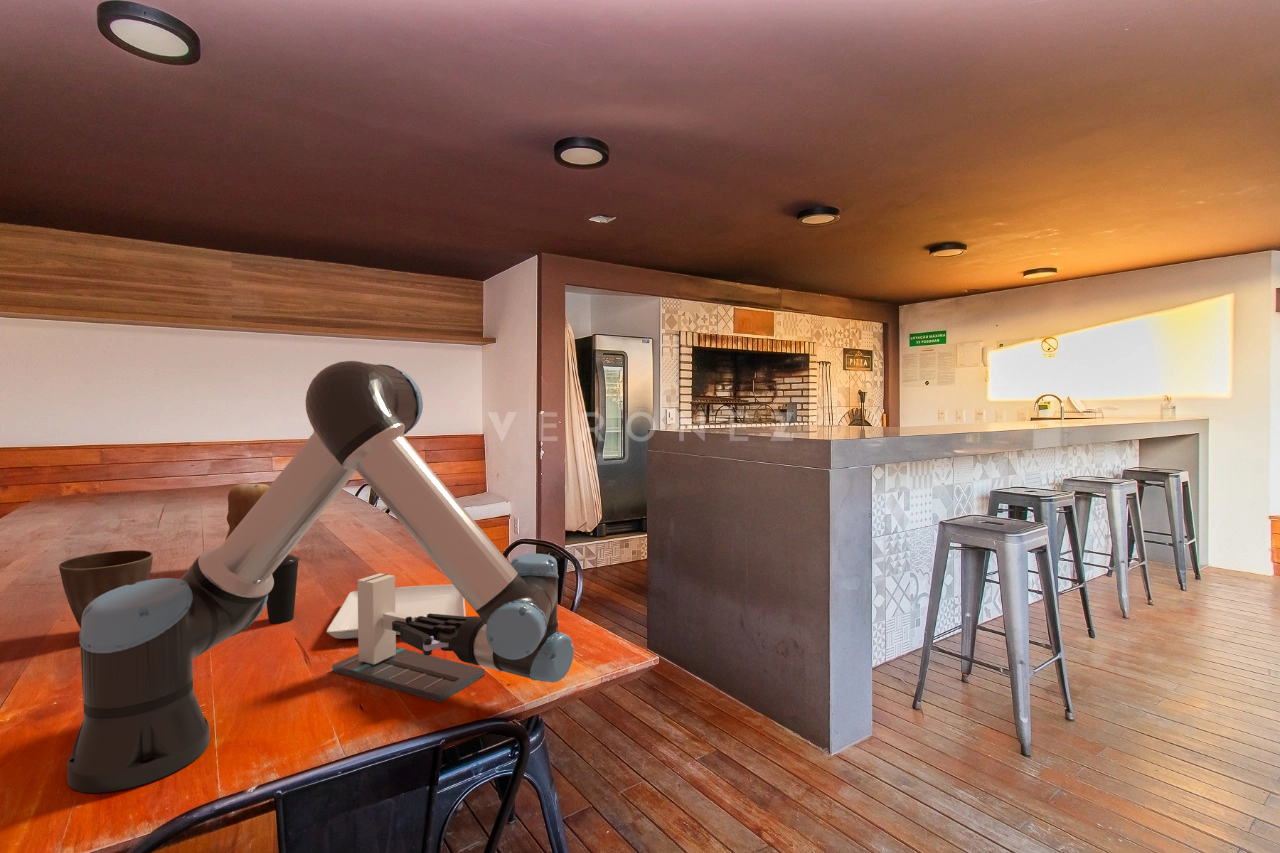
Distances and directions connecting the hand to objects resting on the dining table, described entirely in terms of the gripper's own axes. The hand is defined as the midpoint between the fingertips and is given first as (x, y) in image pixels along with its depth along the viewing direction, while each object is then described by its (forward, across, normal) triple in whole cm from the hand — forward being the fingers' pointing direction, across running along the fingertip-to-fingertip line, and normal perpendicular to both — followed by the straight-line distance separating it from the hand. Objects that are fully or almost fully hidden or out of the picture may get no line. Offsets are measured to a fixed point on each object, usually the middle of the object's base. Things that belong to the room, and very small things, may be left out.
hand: (386, 619), depth 113 cm
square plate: (+17, +20, -10) cm, 28 cm away
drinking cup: (+41, +7, -9) cm, 42 cm away
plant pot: (+65, -14, -9) cm, 67 cm away
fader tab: (+2, 0, -7) cm, 8 cm away
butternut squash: (+90, +30, -9) cm, 95 cm away
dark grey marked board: (-5, 0, -9) cm, 10 cm away
